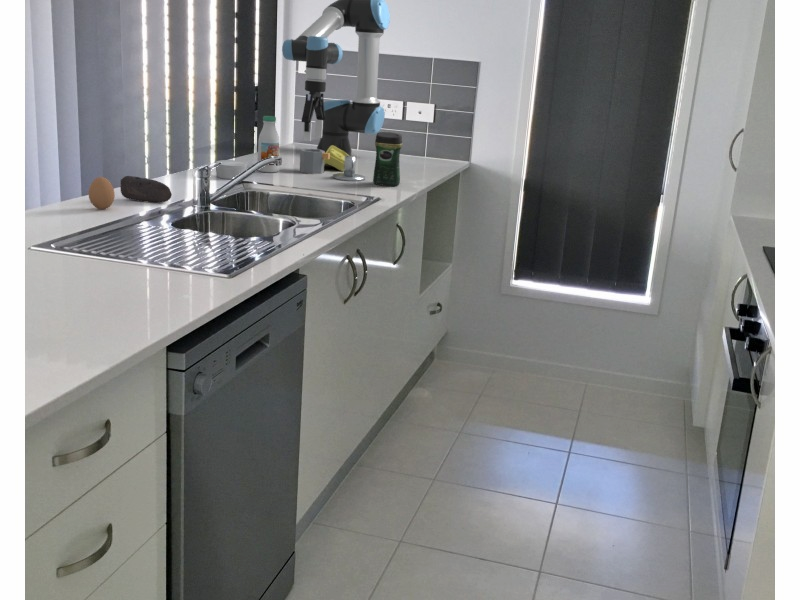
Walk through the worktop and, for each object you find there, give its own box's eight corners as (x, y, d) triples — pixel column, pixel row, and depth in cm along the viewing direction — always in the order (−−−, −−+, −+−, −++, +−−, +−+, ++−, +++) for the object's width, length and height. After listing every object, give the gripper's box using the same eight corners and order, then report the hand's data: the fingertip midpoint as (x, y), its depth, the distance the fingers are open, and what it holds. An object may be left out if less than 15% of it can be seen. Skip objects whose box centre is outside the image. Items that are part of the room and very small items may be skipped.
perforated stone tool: (175, 202, 251) (175, 179, 249) (167, 205, 246) (167, 182, 244) (127, 197, 253) (127, 174, 251) (119, 200, 248) (118, 176, 246)
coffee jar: (401, 184, 310) (405, 132, 304) (396, 187, 302) (400, 134, 297) (375, 181, 311) (378, 129, 306) (370, 184, 304) (373, 132, 298)
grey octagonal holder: (304, 169, 325) (305, 148, 323) (331, 172, 324) (332, 150, 321) (297, 172, 318) (298, 150, 315) (324, 175, 316) (325, 153, 313)
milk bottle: (253, 171, 313) (254, 115, 307) (264, 168, 320) (265, 114, 314) (271, 173, 310) (273, 118, 304) (282, 171, 317) (284, 116, 311)
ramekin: (227, 181, 290) (227, 166, 288) (208, 176, 297) (208, 161, 295) (254, 179, 298) (254, 164, 296) (234, 173, 305) (234, 159, 303)
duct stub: (337, 174, 320) (339, 152, 317) (368, 177, 318) (370, 156, 315) (328, 178, 309) (329, 156, 306) (360, 182, 306) (361, 160, 304)
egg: (117, 211, 234) (117, 179, 232) (92, 212, 231) (91, 179, 228) (111, 206, 240) (110, 174, 237) (86, 207, 236) (85, 175, 234)
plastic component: (349, 166, 326) (325, 153, 324) (339, 182, 328) (316, 170, 326) (350, 155, 344) (328, 142, 342) (341, 170, 346) (320, 158, 344)
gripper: (316, 78, 323) (313, 135, 329) (294, 80, 300) (292, 141, 306) (335, 80, 322) (332, 137, 328) (314, 82, 298) (311, 143, 304)
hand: (312, 139), depth 317 cm, fingers open, 13 cm apart
